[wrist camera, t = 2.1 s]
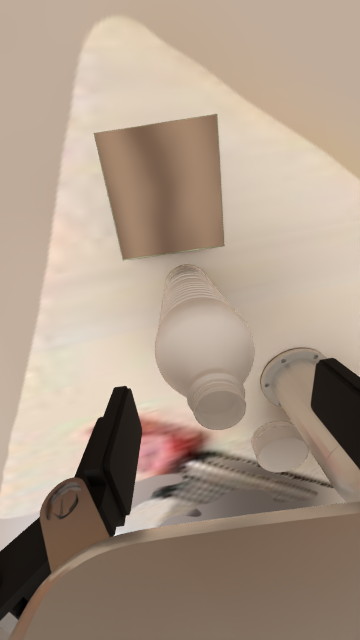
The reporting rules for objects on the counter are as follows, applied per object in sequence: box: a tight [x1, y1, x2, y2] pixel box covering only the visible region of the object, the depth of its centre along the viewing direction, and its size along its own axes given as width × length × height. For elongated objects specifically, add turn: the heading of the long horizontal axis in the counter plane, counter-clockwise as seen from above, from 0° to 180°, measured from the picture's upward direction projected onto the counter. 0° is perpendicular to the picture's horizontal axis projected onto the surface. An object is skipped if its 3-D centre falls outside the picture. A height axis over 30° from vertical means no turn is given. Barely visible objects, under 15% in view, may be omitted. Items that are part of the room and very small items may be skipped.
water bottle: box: [155, 265, 309, 472], centre depth 21 cm, size 9×6×25 cm
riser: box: [94, 114, 224, 260], centre depth 24 cm, size 11×11×8 cm
